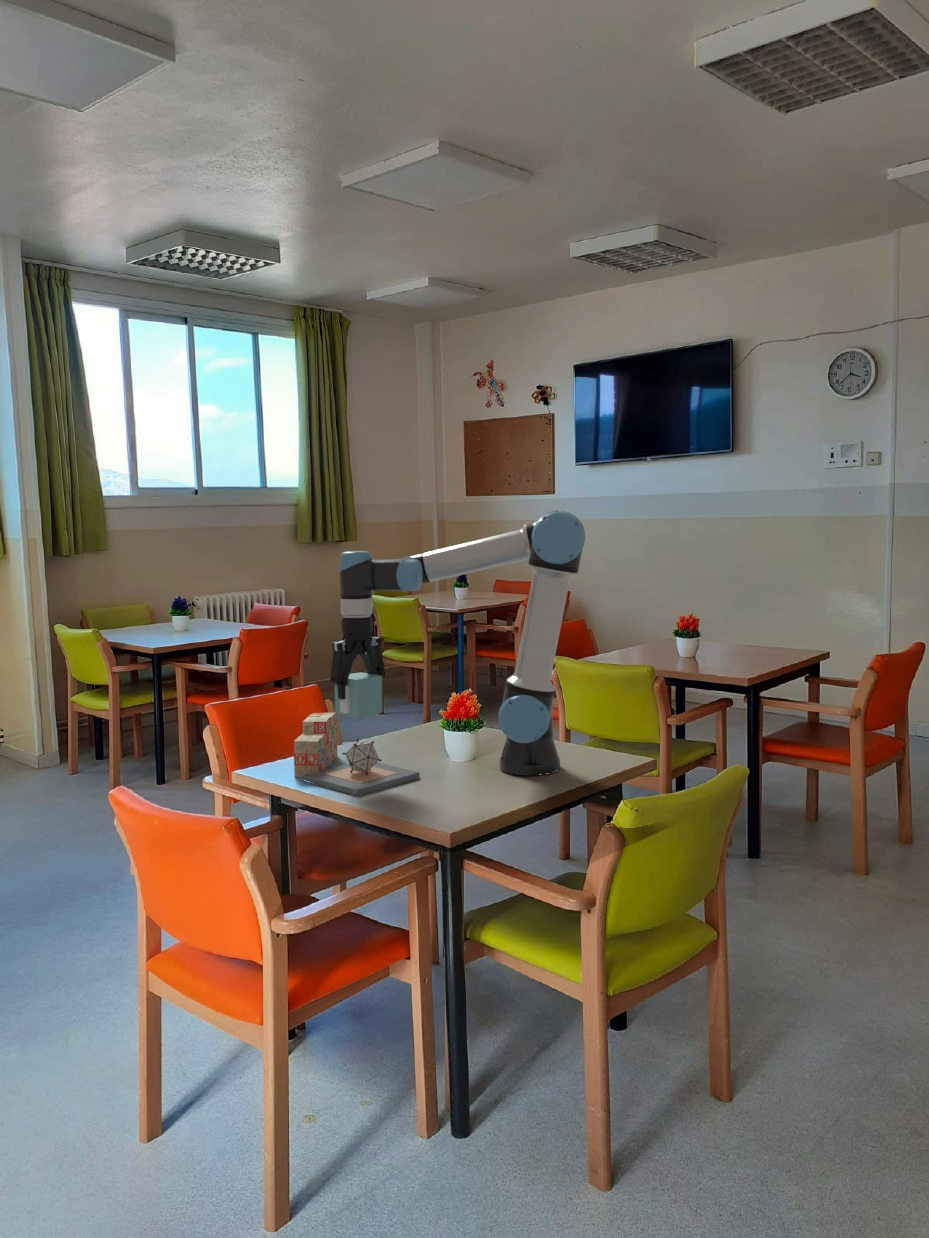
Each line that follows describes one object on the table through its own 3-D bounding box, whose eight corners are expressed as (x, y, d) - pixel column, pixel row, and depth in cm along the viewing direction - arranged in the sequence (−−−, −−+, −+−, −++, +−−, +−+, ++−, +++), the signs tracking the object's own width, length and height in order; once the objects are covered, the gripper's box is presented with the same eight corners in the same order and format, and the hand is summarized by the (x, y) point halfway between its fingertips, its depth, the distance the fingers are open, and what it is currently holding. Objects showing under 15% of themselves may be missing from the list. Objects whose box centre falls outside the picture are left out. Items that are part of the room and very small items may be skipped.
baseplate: (419, 778, 234) (419, 771, 234) (356, 796, 219) (356, 789, 219) (365, 765, 247) (365, 759, 247) (303, 781, 233) (302, 774, 233)
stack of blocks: (319, 778, 236) (317, 728, 235) (294, 777, 237) (292, 728, 236) (337, 756, 257) (336, 711, 256) (314, 756, 258) (313, 711, 257)
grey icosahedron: (357, 786, 235) (347, 749, 240) (389, 774, 235) (378, 737, 239) (344, 777, 227) (334, 739, 232) (378, 764, 227) (367, 726, 231)
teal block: (382, 712, 232) (381, 675, 231) (357, 717, 226) (356, 679, 225) (360, 708, 237) (359, 672, 237) (335, 713, 232) (334, 676, 231)
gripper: (378, 611, 240) (380, 701, 242) (312, 618, 224) (314, 714, 227) (399, 613, 234) (401, 705, 237) (332, 620, 219) (335, 718, 222)
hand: (359, 709), depth 232 cm, fingers closed on teal block, 8 cm apart
